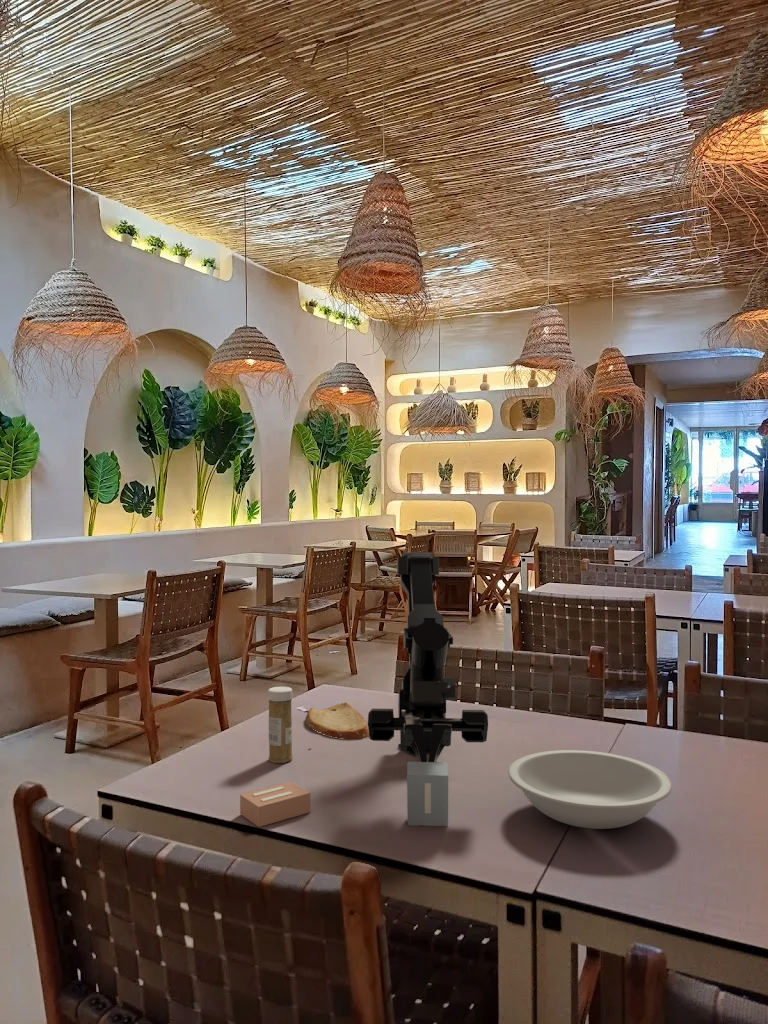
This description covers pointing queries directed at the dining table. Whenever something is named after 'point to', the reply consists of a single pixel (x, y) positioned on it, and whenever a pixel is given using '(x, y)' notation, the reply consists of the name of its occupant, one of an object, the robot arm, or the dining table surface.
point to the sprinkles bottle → (280, 724)
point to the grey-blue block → (427, 793)
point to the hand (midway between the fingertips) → (427, 776)
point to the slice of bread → (338, 722)
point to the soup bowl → (590, 787)
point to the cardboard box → (275, 803)
